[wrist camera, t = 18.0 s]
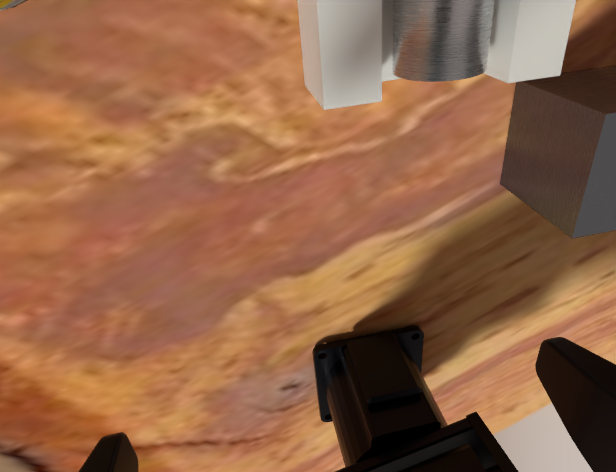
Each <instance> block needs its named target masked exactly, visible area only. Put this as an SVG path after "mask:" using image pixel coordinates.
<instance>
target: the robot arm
mask: <svg viewBox="0 0 616 472" xmlns="http://www.w3.org/2000/svg"><path fill="white" fill-rule="evenodd" d="M413 334H414V335H413ZM423 338H424V334H423V331H422V330H421V328H420V327H419V326H409V327H404V328H399V329H395V330H390V331H385V332H380V333H375V334H370V335H366V336H361V337H356V338H351V339H346V340H341V341H336V342H332V343H327V344H322V345H319V346H317V347H315V348H314V349H313V361H314V369H315V378H316V387H317V395H318V404H319V413H320V417H321V420H322V421H323V422H331V421H333V423H334V427H335V431H336V434H337V438H338V442H339V445H340V449H341V453H342V456H343V460H344V464H345V468H343V469H340V470H338V471H335V472H518V470H517V469H516V468H515V466H514V465H513V463H512V462H511V460H510V459H509V458H508V456H507V455H506V453H505V452H504V450H503V449H502V448H501V446H500V445H499V444H498V442H497V440H496V439H495V438H494V436H493V435H492V433H491V432H490V430H489V429H488V428H487V426H486V425H485V423H484V422H483V420H482V419H481V418H480V416H479V415H478V413H477V412H474V413H471V414H469V415H467V416H466V418H465V419H462V420H460V421H457V422H455V423H452V424H450V425H447V423H446V421H445V419H444V417H443V415H442V413H441V411H440V409H439V407H438V405H437V403H436V402H435V400H434V398H433V396H432V394H431V392H430V390H429V388H428V386H427V384H426V382H425V380H424V378H423V376H422V375H421V366H422V352H423ZM321 353H323V354H321ZM536 372H537V375H538V377H539V379H540V381H541V383H542V385H543V387H544V388H545V390H546V392H547V394H548V396H549V398H550V400H551V401H552V403H553V405H554V407H555V409H556V411H557V413H558V414H559V416H560V418H561V420H562V422H563V424H564V426H565V427H566V429H567V431H568V433H569V434H570V436H571V438H572V440H573V441H574V443H575V444H576V446H577V448H578V449H579V451H580V452H581V454H582V455H583V457H584V458H585V460H586V461H587V462H588V464H589V466H590V467H591V469H592V470H593V472H616V365H615V364H613V363H612V362H610V361H608V360H606V359H604V358H602V357H600V356H598V355H596V354H594V353H592V352H591V351H589V350H587V349H585V348H583V347H581V346H579V345H577V344H575V343H573V342H571V341H570V340H568V339H565V338H563V337H556V338H551V339H547V340H544V341H543V342H542V343H541V346H540V350H539V354H538V357H537V361H536ZM79 472H138V458H137V455H136V453H135V451H134V449H133V447H132V445H131V443H130V441H129V439H128V437H127V435H126V434H125V433H123V432H120V433H115V434H111V435H106V436H104V437H103V438H101V439H100V441H99V442H98V443H97V445H96V446H95V448H94V449H93V451H92V452H91V454H90V455H89V457H88V458H87V460H86V461H85V463H84V464H83V466H82V467H81V469H80V470H79Z"/></svg>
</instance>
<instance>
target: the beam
mask: <svg viewBox="0 0 616 472" xmlns="http://www.w3.org/2000/svg"><path fill="white" fill-rule="evenodd" d="M500 184H501V185H502V186H504V187H505V188H506V189H508V190H509V191H510V192H511V193H513V194H514V195H515V196H517V197H518V198H519V199H521V200H522V201H523V202H525V203H526V204H527V205H529V206H530V207H531V208H532V209H534V210H535V211H536V212H538V213H539V214H540V215H542V216H543V217H544V218H546V219H547V220H548V221H550V222H551V223H552V224H554V225H555V226H556V227H557V228H559V229H560V230H561V231H563V232H564V233H565V234H567V235H568V236H569V237H571V238H577V237H582V236H587V235H593V234H598V233H603V232H608V231H614V230H616V66H610V67H603V68H596V69H589V70H582V71H575V72H568V73H561V74H560V76H554V77H547V78H540V79H533V80H526V81H519V82H516V87H515V93H514V100H513V106H512V112H511V118H510V125H509V131H508V137H507V143H506V150H505V156H504V162H503V169H502V175H501V181H500Z"/></svg>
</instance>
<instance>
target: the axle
mask: <svg viewBox="0 0 616 472" xmlns="http://www.w3.org/2000/svg"><path fill="white" fill-rule="evenodd" d="M494 2H495V0H393V65H392V72H393V74H394V75H395V76H397V77H399V78H402V79H407V80H413V81H431V82H434V81H452V80H460V79H466V78H470V77H474V76H477V75H480V74H482V73H484V72H485V71H486V69H487V61H488V52H489V44H490V35H491V27H492V18H493V10H494Z"/></svg>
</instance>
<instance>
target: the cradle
mask: <svg viewBox="0 0 616 472" xmlns="http://www.w3.org/2000/svg"><path fill="white" fill-rule="evenodd" d="M297 2H298V13H299V25H300V36H301V47H302V58H303V70H304V81H305V86H306V87H307V89H308V90H309V91H310V93H311V94H312V95H313V96H314V98H315V99H316V100H317V101H318V103H319V104H320V105H321V107H322V108H323V109H324V110H326V109H333V108H340V107H347V106H354V105H361V104H368V103H375V102H381V101H382V81H388V80H395V79H402V78H399V77H397V76H395V75H394V74H393V72H392V65H393V0H297ZM575 2H576V0H495V2H494V10H493V18H492V27H491V35H490V44H489V52H488V61H487V69H486V71H485V72H484V74H487V75H489V76H492V77H494V78H496V79H499V80H501V81H504V82H506V83H512V82H519V81H526V80H533V79H540V78H547V77H554V76H560V74H561V69H562V64H563V60H564V55H565V50H566V45H567V41H568V36H569V31H570V26H571V21H572V17H573V12H574V7H575Z"/></svg>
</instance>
